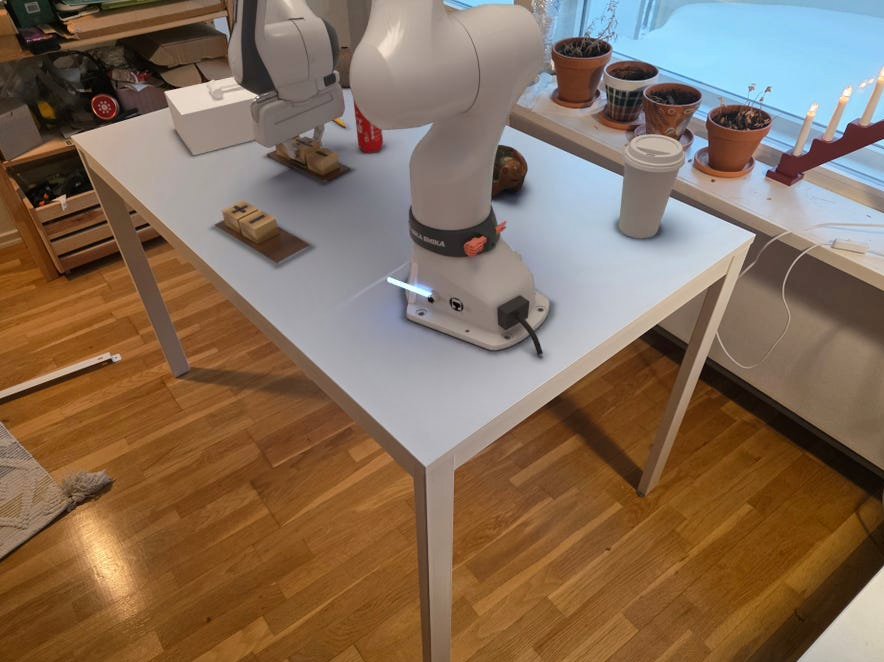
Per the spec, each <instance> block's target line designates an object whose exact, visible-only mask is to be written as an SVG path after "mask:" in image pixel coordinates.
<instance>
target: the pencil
mask: <svg viewBox="0 0 884 662" xmlns="http://www.w3.org/2000/svg"><path fill="white" fill-rule="evenodd" d="M333 121H334V122H335V123H337V124H339V125H340V126H341V127H343V128H344V127H345V128H347V125H346V124H345V123H344V122H343V121H342V120H341V119H339V118H337V119H335V120H333Z"/></svg>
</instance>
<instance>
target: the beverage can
mask: <svg viewBox="0 0 884 662" xmlns="http://www.w3.org/2000/svg"><path fill="white" fill-rule="evenodd" d="M352 99H353V98H352ZM352 102H353V108H354V110H353V111H354V117H355V126H356V127H355V129H356V135H357V144H358V146H359V148H360V151H361V152H363V153H366V154H367V153H368V154H372V153H378V152H379V151H381V150H382V146H383V144H384V140H383V139H384V138H383V130H381V129H379V128H377V127H375V126H374V125H373V124H371V123H370V122H369V121H368V120H367V119H366V118H365V117H364V116H363V115H362V113H361V112H360V111H359V109H358V107H357V105H356V103H355V101H354V99H353V101H352Z"/></svg>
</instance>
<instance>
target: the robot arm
mask: <svg viewBox="0 0 884 662" xmlns="http://www.w3.org/2000/svg"><path fill="white" fill-rule="evenodd" d="M444 1H445V0H371V5H370V6H371V8H370V13H369V18H368V22H367V26H366V29H365V32H364V34H363V36H362V38H361V40H360V41H359V43H358V45H357V46H356V48H355V49H354V52H353V53H354V55H353V57H352V61H351V65H350V73H349V81H350V87H349V88H350V93H351V96H352V99H354V101H355V103H356V105H357V107H358V109H359V111H360V112H361V113H362V115H363V116H364V117H365V118H366V119H367V120H368V121H369V122H370V123H371V124H373V125H374V126H375V127H377V128H379V129H381V130H382V131H394V130H406V129H407V130H408V129H417V128H422V127H424V126H428V125H430V128H429V129H428V130H427V132H426V133H425V134H424V135H423V137H421V139H420V140H419V141H418V142H417V144H416V145H415V147H414V149H412V153H411V155H410V159H409V166H408V167H409V182H410V185H409V187H410V206H409V209H408V229H409V231H408V232H409V236H410V239H411V241H412V242H411V255H410V256H411V257H410V266H409V272H408V277H407V281H406V283H405V282H403V281H400V280H397V279H394V278H392V277H387V282H388V283H390V284H393V285H396V286H398V287H401V288H403V289H404V293H405V297H406V301H407V306H406V315H405V316H406V318H407V319H408V320H410V321H412V322H414V323H417V324H420V325H423V326H425V327H428V328H431V329H433V330H435V331H439V332H441V333H444V334H446V335H449V336H451V337H454V338H457V339H459V340H461V341H465V342H468V343H471V344H474V345H476V346H478V347H481V348H483V349H487V350H490V351H499V350H504V349H506V348H510V347H512V346H514V345H516V344H518V343H520V342H522V341H523V340H525V339H526V338H527V337H529V336H530V338H531V340H532V343H533V345H534V348H535V351H536V355H537V356H540V355H543V353H544V352H543V349H542V346H541V343H540V340H539V337H538V335H537V334H536V330H537V329H539V327H540V326H541V325H542V324H543V323H544V322H545V320H546V318H547V317H548V315H549V312H550V299H549V298H548V297H546V296H545V295H543V294H542V293H541V292H539V291H538V290H536V283H535V278H534V274H533V272H532V269H530V267H528V265H527V264H526V263H525V262H524V261H523V257H522V254H521V253H520V252H518V251H517V250H516V251H514V250H513V248H512V247H511V246H510V245H509V244H508V243H507V241H506V240H505V239H504V238H503V237H502V235H501V233H502V232H504V231H505V229H506V228H507V226H506V224H507V221H506V220H504V221H503V222H501V223H500V224H499V223H498V220H497V217H496V213H495V210H494V207H493V205H492V198H491V192H492V179H493V168H494V160H495V156H496V152H497V148H498V145H500V142H501V138H502V136H503V133H504V131H505V128H506V126H507V124H508V121H509V119H510V117H511V115H512V113H513V110H514V109H515V107H516V105H517V103H518V102H519V100H520V98H521V97H522V95H523V94H524V92H525V91H526V90H527V89H528V88H529V86H530V85H531V84H532V83H533V82H534V80H535V79H536V78H537V77H538V75H539V73H540V72H541V70H542V66H543V63H544V58H545V57H544V55H545V45H544V44H545V41H544V36H543V32H542V29H541V26H540V24H539V22H538V20H537V19H536V18H535V15H533V13H532V12H531V11H529V9H527V8H526V7H524V6H523V5H520V4H514V3H513V4H510V3H483V4H479V5H475V6H471V7H467V8H464V9H459V10H456V11H451V12H447V11H446V7H445V2H444ZM227 42H228V43H227V61H228V65H229V69H230V72H231V75H232V77H234V79H235V81H236V82H237V84H239V85H240V86H241V87H243V88H244V89H246V90H248V91H250V92H252V93H254V94H256V95H258V96H256V97H255V100H254V101H253V102H252V104H251V105H250V111H251V115H252V123H253V132H254V138H255V140H254V141H255V142H256V144H259V145H260V146H262V147H264V148H267V149H271V148H273V147H275V145H278V144H280V143H282V144H283V145H284V146H285V147H286V149H287V150H288V155H289V157H290V158H292V159H295V158H297V157H299V156H300V155H299V149H297V148H295V147H293V146H292V145H291V143H293V139H292V138H294V137H296V136H298V135H299V136H301V135H303V134H306V133H307V132H309V131H311V130H313V134H312V137H310V138H311V139H313V140H316V141H318V142H320V146H321V147H323V142H322V138H323V135H324V132H325V124H327V123H328V124H329V123H330V122H332V121H334V120H335V119H337V118H338V119H339V118H341V117H343V116H344V114H345V111H346V106H345V103H346V102H345V97H344V91H343V88H342V86H341V85H340V84H339V83H338V82H339V79H340V77H339V73H338V72H337V71H335V68H336V67H337V64H338V61H339V58H340V51H339V48H340V43H339V38H338V34H337V31H336V29H335V27H334V26H333V25H332V24H331V23H330V22H328V21H327V20H325V19H324V18H323V17H321V16H318V15H316V14H315V13H314V12H313V11H312V10H311V9H310V7H309V5H308V4H307V2H306V0H233V1H232V19H231V29H230V33H229V37H228V41H227ZM354 101H353V102H354ZM255 102H256V103H255Z"/></svg>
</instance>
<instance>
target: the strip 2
mask: <svg viewBox="0 0 884 662" xmlns="http://www.w3.org/2000/svg"><path fill="white" fill-rule="evenodd" d="M300 138H302V137H301V136H300V135H298V136H296V137H294V138H292V139H293V142H294V141H296V140H295V139H300ZM274 147H275V150H272V151H271V152H268V153H266V157H267V158H269V159H272V160H274V161H276V162H278V163H280V164H282V165H284V166H285V167H288V168H291V169H293V168H294V169H296V170H299V171H301V172H303V173H305V174H308V175H310V176H312V177H314V178H316V179H318V180H320V181H322V182H330V181H332V180H334V179H337V178H338V177H340V176H342V175H344V174H346V173H348V172H351V167H349V166H348V165H345V164H343V163H341V162H340V161H339V153H338V152H336V151H334V150H331V149H329V148H326V147H324V146H321V148H319V149H317V150H315V151H313V152H311V153H309V154H306V160H307V164H303V163H301V162H299V161H297V160H295V159H292V158H290V157H289V155H288V150H287V149H286V147H285V146H284V145H283V144H282V143H280V144H278V145H275V146H274Z"/></svg>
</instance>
